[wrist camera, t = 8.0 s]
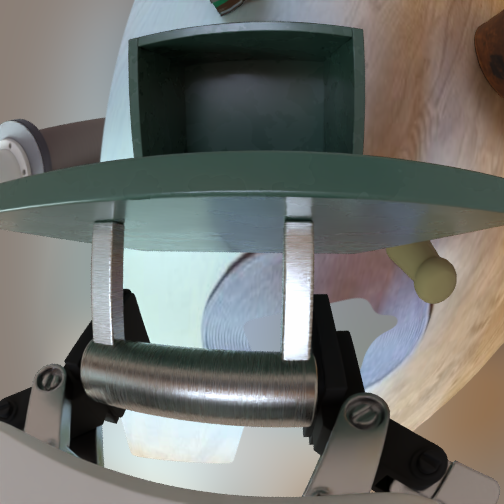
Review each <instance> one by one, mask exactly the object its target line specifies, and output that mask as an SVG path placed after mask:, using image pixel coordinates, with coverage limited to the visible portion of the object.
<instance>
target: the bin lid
mask: <svg viewBox="0 0 504 504" xmlns="http://www.w3.org/2000/svg"><path fill="white" fill-rule="evenodd" d="M503 225H504V178H502V177H497V176H493V175H489V174H485V173H480V172H475V171H471V170H466V169H461V168H455V167H450V166H444V165H438V164H432V163H426V162H419V161H412V160H405V159H397V158H388V157H379V156H369V155H358V154H345V153H330V152H310V151H217V152H196V153H181V154H168V155H157V156H147V157H138V158H129V159H121V160H113V161H106V162H99V163H93V164H87V165H81V166H75V167H69V168H64V169H59V170H54V171H49V172H44V173H39V174H35V175H30V176H26V177H22V178H18V179H14V180H10V181H6V182H2V183H0V229H2V230H8V231H14V232H20V233H27V234H33V235H40V236H47V237H53V238H60V239H66V240H73V241H79V242H86V243H92V257H91V259H92V260H91V261H92V262H91V304H92V326H93V340H91V341H90V342H89V344H88V345H87V347H86V348H85V351H84V353H83V356H82V360H81V367H80V376H81V382H82V386H83V389H84V391H85V393H86V394H87V395H88V397H90V398H91V399H92V400H93V401H96V402H99V403H103V404H107V405H111V406H115V407H119V408H123V409H127V410H131V411H136V412H140V413H145V414H150V415H155V416H161V417H167V418H173V419H179V420H186V421H194V422H202V423H211V424H221V425H234V426H251V427H309V426H311V425H312V424H313V422H314V420H315V416H316V411H317V404H318V369H317V362H316V358H315V356H314V354H313V353H312V352H311V340H312V319H313V289H314V253H333V254H356V253H361V252H367V251H373V250H378V249H384V248H389V247H395V246H400V245H406V244H411V243H416V242H422V241H427V240H432V239H438V238H443V237H448V236H453V235H458V234H463V233H468V232H473V231H478V230H483V229H488V228H493V227H498V226H503ZM124 248H127V249H134V250H141V251H184V252H258V253H283V272H282V317H281V347H280V352H263V351H262V352H261V351H235V350H217V349H203V348H191V347H180V346H170V345H160V344H152V343H144V342H136V341H129V340H125V339H124V318H123V252H124Z"/></svg>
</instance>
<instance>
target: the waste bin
mask: <svg viewBox="0 0 504 504" xmlns="http://www.w3.org/2000/svg"><path fill="white" fill-rule="evenodd" d="M128 62H129V98H130V116H131V130H132V141H133V152H134V158H138V157H147V156H157V155H168V154H181V153H196V152H217V151H310V152H330V153H345V154H358V155H363V143H364V120H365V59H364V37H363V29H358V28H351V27H344V26H336V25H327V24H317V23H303V22H237V23H223V24H213V25H204V26H196V27H189V28H182V29H176V30H171V31H165V32H160V33H156V34H151V35H146V36H142V37H139V38H134V39H130V40H129V50H128Z"/></svg>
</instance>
